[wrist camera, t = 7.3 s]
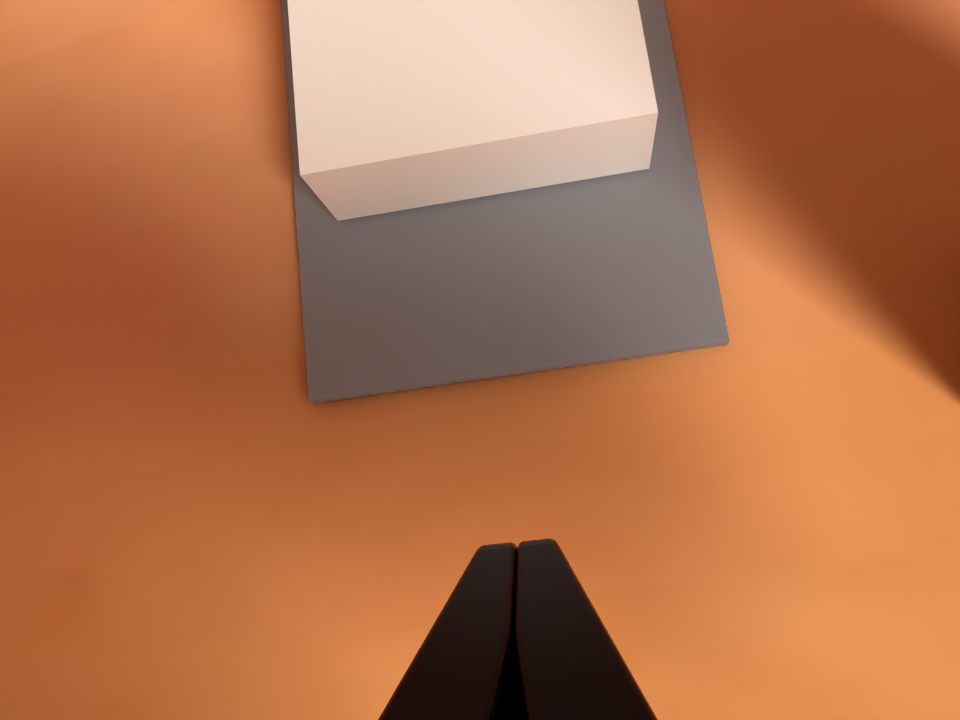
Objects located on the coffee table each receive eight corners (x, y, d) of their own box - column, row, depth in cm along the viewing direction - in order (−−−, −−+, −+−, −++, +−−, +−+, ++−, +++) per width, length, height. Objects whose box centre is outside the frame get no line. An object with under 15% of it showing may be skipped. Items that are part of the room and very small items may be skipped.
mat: (726, 344, 17) (729, 341, 16) (313, 403, 18) (308, 401, 17) (622, -200, 20) (623, -211, 19) (276, -124, 21) (271, -133, 20)
